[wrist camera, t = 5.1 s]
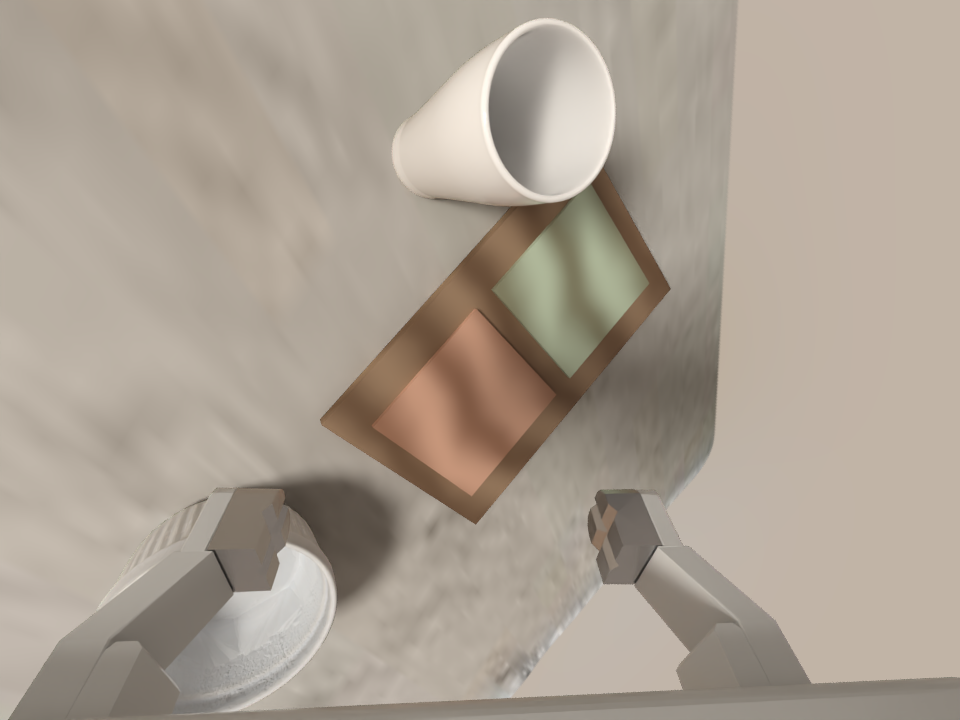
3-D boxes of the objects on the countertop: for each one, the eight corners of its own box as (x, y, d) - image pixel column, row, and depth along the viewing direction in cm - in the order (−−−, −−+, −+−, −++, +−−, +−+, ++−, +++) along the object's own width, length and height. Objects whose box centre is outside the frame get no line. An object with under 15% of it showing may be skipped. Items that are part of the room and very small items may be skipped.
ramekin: (284, 446, 31) (292, 499, 26) (347, 570, 37) (365, 637, 31) (68, 539, 27) (18, 630, 21) (176, 665, 32) (159, 765, 26)
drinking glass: (487, 160, 32) (642, 124, 19) (430, 230, 32) (551, 238, 19) (423, 78, 29) (561, -32, 16) (357, 155, 28) (445, 104, 15)
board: (575, 134, 35) (587, 131, 34) (662, 287, 44) (673, 289, 43) (319, 419, 32) (322, 427, 31) (471, 518, 41) (477, 527, 40)
